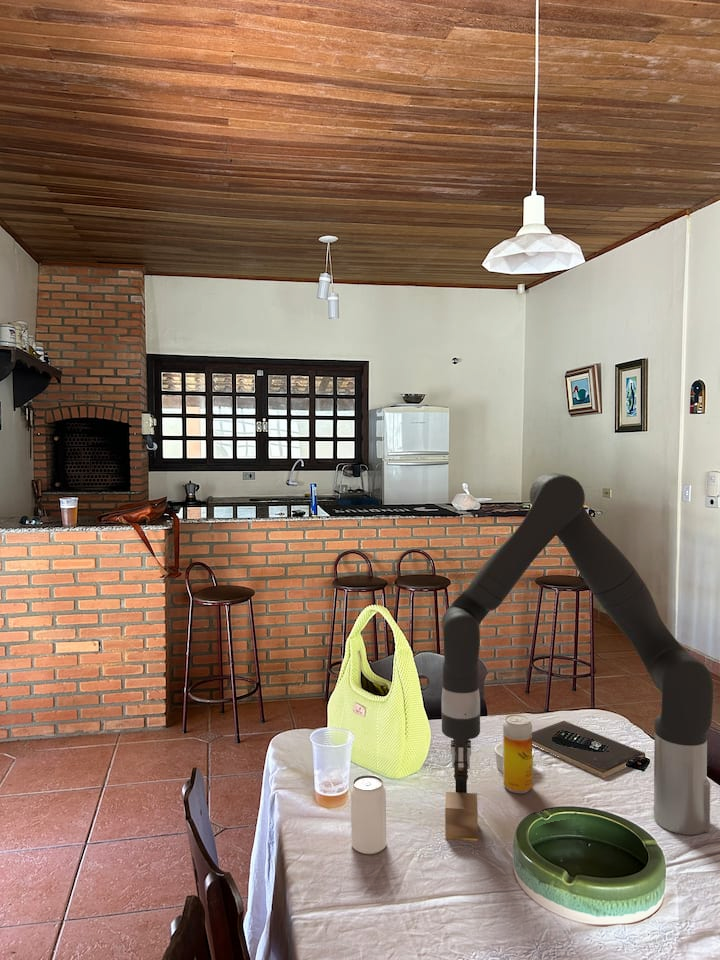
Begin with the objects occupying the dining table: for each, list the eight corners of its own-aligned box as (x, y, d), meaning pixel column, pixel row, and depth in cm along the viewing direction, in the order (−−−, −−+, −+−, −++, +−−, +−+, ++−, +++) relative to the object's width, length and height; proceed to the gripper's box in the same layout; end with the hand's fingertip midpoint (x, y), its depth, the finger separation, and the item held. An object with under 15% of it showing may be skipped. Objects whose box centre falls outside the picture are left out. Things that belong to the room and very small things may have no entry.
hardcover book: (603, 781, 150) (603, 771, 150) (523, 744, 169) (523, 735, 169) (645, 761, 159) (645, 751, 159) (565, 728, 178) (565, 719, 178)
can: (361, 859, 122) (360, 794, 122) (345, 841, 128) (344, 778, 127) (392, 849, 125) (392, 785, 125) (375, 831, 131) (375, 770, 130)
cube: (477, 823, 134) (476, 793, 133) (477, 841, 128) (477, 809, 127) (446, 821, 134) (446, 791, 134) (445, 838, 129) (445, 807, 128)
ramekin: (539, 765, 157) (539, 746, 157) (526, 781, 150) (526, 762, 150) (502, 756, 162) (502, 738, 162) (488, 771, 155) (488, 752, 154)
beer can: (532, 795, 143) (532, 726, 143) (503, 793, 145) (503, 724, 144) (531, 781, 149) (531, 714, 149) (503, 779, 151) (502, 712, 150)
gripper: (480, 724, 127) (481, 814, 128) (479, 698, 141) (479, 780, 141) (440, 722, 129) (441, 811, 129) (442, 696, 142) (443, 777, 143)
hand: (461, 795), depth 135 cm, fingers closed
